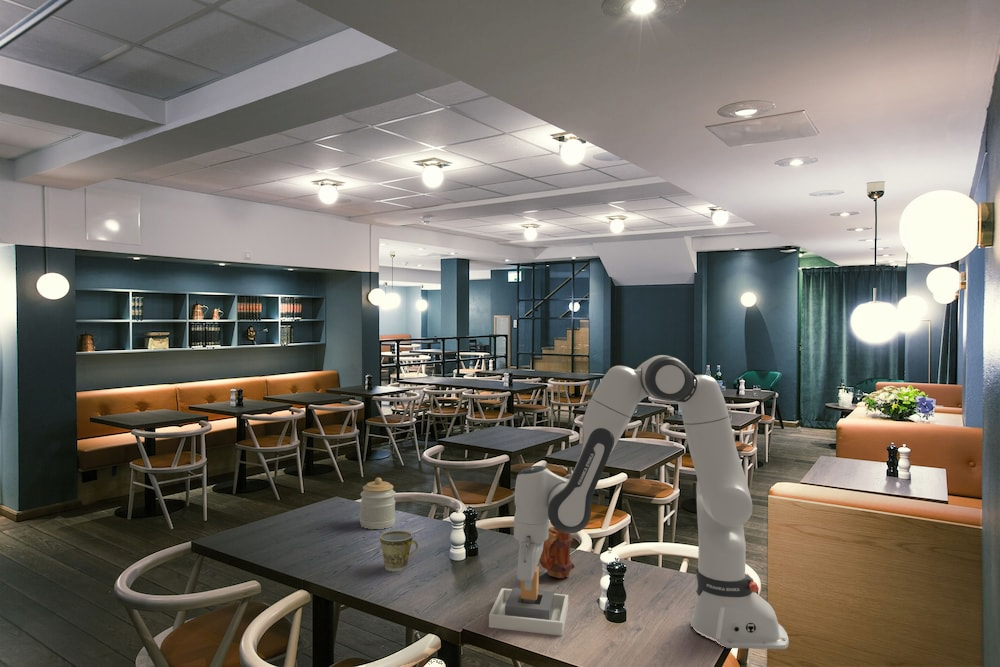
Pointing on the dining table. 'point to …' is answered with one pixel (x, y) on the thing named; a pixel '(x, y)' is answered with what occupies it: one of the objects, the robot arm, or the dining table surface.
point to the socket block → (530, 605)
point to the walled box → (529, 624)
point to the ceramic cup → (396, 549)
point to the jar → (377, 505)
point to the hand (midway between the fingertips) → (530, 584)
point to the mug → (557, 554)
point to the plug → (533, 593)
